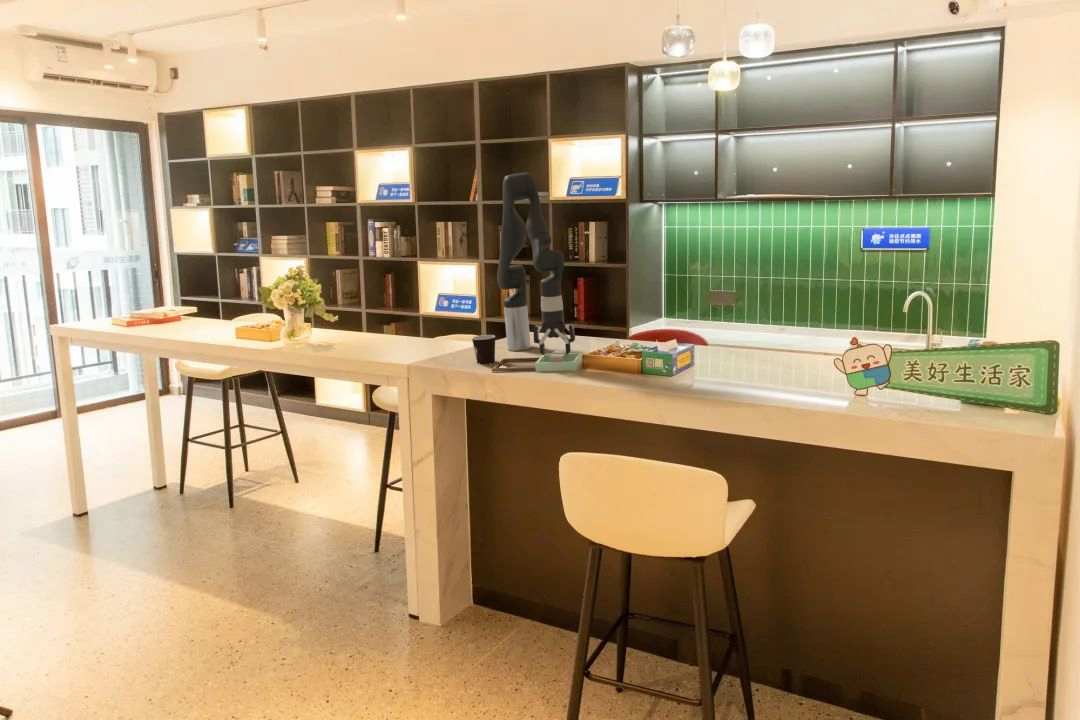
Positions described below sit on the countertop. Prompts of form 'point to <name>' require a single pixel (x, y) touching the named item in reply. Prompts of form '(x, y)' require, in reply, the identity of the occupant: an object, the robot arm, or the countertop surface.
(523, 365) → the walnut tray
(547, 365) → the green dish
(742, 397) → the countertop surface
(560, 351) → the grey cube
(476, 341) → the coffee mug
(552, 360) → the light grey cube
